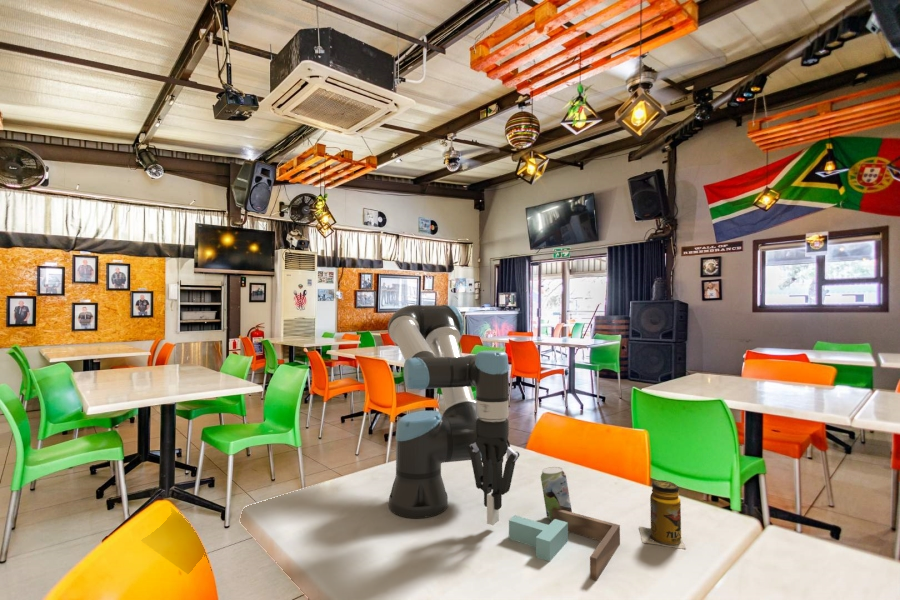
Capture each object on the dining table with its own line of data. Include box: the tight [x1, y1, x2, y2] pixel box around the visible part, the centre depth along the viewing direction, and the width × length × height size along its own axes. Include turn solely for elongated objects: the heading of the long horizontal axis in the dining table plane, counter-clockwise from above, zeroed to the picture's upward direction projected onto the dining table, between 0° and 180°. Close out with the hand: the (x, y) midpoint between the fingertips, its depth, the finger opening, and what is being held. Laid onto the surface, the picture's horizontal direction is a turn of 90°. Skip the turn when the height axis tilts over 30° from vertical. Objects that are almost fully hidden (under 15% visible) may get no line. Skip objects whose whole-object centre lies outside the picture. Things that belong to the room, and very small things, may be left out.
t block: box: [508, 514, 569, 562], centre depth 96 cm, size 11×10×4 cm
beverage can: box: [540, 466, 573, 522], centre depth 108 cm, size 6×7×12 cm
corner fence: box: [551, 508, 621, 582], centre depth 94 cm, size 15×16×4 cm
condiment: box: [638, 479, 686, 550], centre depth 99 cm, size 7×8×12 cm
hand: (492, 522), depth 102 cm, fingers closed
